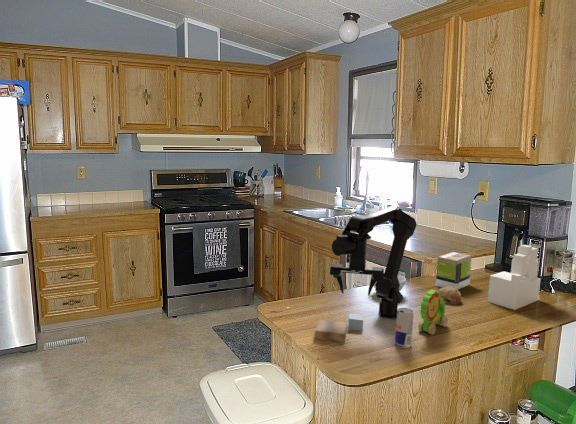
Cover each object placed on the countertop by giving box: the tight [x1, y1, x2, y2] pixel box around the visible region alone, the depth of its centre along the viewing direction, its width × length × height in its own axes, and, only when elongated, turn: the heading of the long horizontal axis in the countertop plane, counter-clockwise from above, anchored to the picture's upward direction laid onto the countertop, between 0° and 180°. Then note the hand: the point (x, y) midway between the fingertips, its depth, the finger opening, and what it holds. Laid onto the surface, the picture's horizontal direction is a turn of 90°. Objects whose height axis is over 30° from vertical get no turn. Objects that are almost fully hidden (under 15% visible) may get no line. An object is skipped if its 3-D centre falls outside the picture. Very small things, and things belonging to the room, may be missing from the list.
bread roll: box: [437, 286, 462, 305], centre depth 196 cm, size 10×10×8 cm
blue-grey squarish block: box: [347, 313, 364, 331], centre depth 164 cm, size 5×5×4 cm
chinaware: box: [373, 274, 407, 292], centre depth 201 cm, size 15×15×8 cm
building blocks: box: [487, 244, 542, 311], centre depth 196 cm, size 22×12×25 cm, turn 128°
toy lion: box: [417, 289, 449, 336], centre depth 163 cm, size 16×5×15 cm, turn 137°
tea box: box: [435, 251, 472, 291], centre depth 216 cm, size 15×10×15 cm, turn 133°
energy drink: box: [394, 307, 415, 349], centre depth 150 cm, size 5×5×12 cm
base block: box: [314, 319, 348, 343], centre depth 157 cm, size 10×10×3 cm
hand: (355, 294), depth 163 cm, fingers open, 9 cm apart
